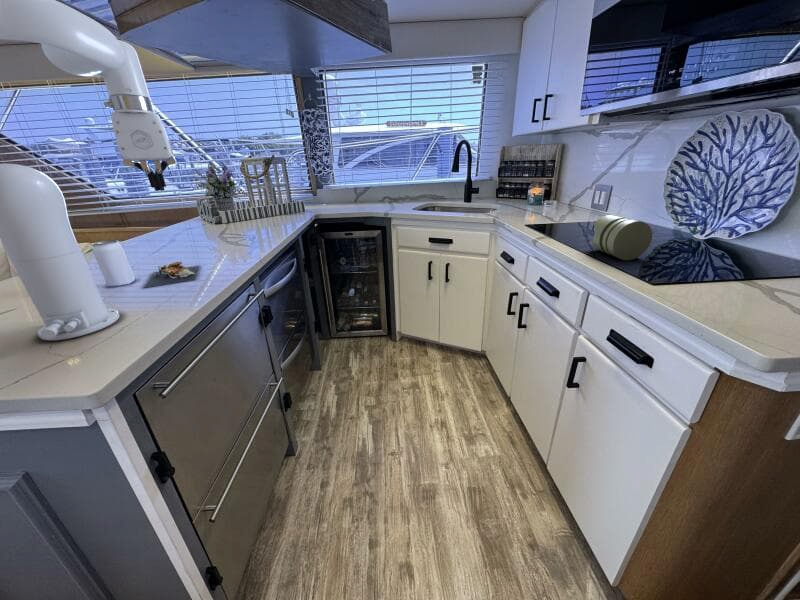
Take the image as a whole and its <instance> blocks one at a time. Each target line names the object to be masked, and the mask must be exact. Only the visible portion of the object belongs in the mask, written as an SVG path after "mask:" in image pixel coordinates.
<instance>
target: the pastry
mask: <svg viewBox="0 0 800 600" xmlns="http://www.w3.org/2000/svg"><path fill="white" fill-rule="evenodd" d="M182 264H183V261H176V262H175V261H174V262H172V263H169V262H168V263H166V264H164V265H163V266H160V265H158V266H157V268H158V272H160V273H162V274H168V275H169V276H170V278H176V277H177V278H179V277H180V278H181V277H186V276H188V275H190V274H194V273H193V272H191V271H189V270H188V267H186V266H184V265H182ZM154 276H155V277H156V276H157V277H159V276H160V274H155V275H154Z"/></svg>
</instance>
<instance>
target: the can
mask: <svg viewBox="0 0 800 600" xmlns="http://www.w3.org/2000/svg"><path fill="white" fill-rule="evenodd" d="M91 246H92V249H91V251H92V254H93V256H94V258H95V261H96V263H97V265H98V268H99V270H100V273H101V275H102V277H103V280H104V282H105V284H106V286H107V287H110V288H115V287H122V286H123V287H124V286H127V285H131V284H132V283H134V282H135V280H136V277H135V276H134V273H133V270H132V268H131V267H132V266H131V265H130V262H129V261H128V257H127V255H126V252H125V249H124V248H123V245H121V243H120V242H119V240H118V239H117V240H116V239H112V240H104V241H98V242H94V243H91Z"/></svg>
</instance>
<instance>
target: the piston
mask: <svg viewBox="0 0 800 600" xmlns="http://www.w3.org/2000/svg"><path fill="white" fill-rule="evenodd" d="M592 226H594V233H593V238H592V241H590V242H588V243H589V245H590V246H591V248H593V249H595V250H597V251H599V252H602V253H605V254H607V255H610V256H612V257H615V258H617V259H619V260H623V261H632V260H636V259H637V258H639V257H640V256H642V255H643V254H644V253H645V252H646V251H647V250H648V249H649V247H650V245H651V243H652V240H653V230H652V228H651V226H650V224H648V223H646V222H645V221H641V220H636V219H631V218H627V217H623V216H618V215H613V214H607V215H604V216H601V217H599V218H597V220H595V221H594V223H593V224H592Z"/></svg>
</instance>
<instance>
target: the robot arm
mask: <svg viewBox="0 0 800 600" xmlns="http://www.w3.org/2000/svg"><path fill="white" fill-rule="evenodd" d="M0 40H2V41H3V40H4V41H21V42H31V43H36V44H40V45H41V46H40V47H41V49H42V52H43V53H44V55H45V57H46V58H47V59H48V60H49V61H50V62H51V63H52V64H53V65H54V66H55V67H57V68H58V69H60V70H62V71H64V72H66V73H68V74H71V75H74V76H81V77H95V78H96V77H97V78H102V79H103V81H104V84H105V87H106V91H107V93H108V97H109V99H106V100H102V103H103V105H104V107H105V108H106V109H108V108H109V109H112V110H113V111H114V112H110V119H111V125H112V129H113V133H114V137H115V140H116V144H117V148H118V151H119V154H120V155H121V157H122V158H123V165H124V166H126V167H133V168H137V169H139V170H140V171H142V172H144V174H146V176H147V179H148V181H149V184H150V185H149V186H150V188H154V191H155V192H159V191H161V192H162V191H165V190H166V189H165V188H166V187H167V184H166V180H165V178H164V174H163V173H164V172H165V170H166V169H167V168H168V167H171V166H173V165H174V166H175V165H177V164H178V161H177V160H176V158H175V156H174V151H173V148H172V143H171V141H170V139H169V135H168V133H167V130H166V128H165V125H164V124H163V123H164V122H163V121H162V118H161V117H160V115H159V114H158V113H156V112H155V109H154V105H153V102H152V99H151V96H150V92H149V89H148V86H147V82H146V78H145V76H144V72H143V69H142V65H141V63H140V58H139V56H138V53H137V50H136V49H135V48H134V47H133V45H131V44H130V43H129V42H126V41H123V40H120V39H118V38H117V37H116V36H115V35H114V34H113V33H112V32H111V31H110V30H109V29H108V28H107V27H105V26H104V25H103V24H101V23H100V22H98V21H97V20H95V19H94V18H92V17H89V16H88V15H86V14H84V13H83V12H80V11H79V10H76V9H74V8H73V7H71V6H69V5H67V4H65V3H63V2H60V1H58V0H0ZM148 161H153V162H154V168H155V169H154V170H153V169H152V168H151V166H150V164H149V162H148ZM0 242H1V245H2V247H3V250H4V251H5V253H6V255H7V257H8V259H9V261H10V262H11V264H12V266H13V268H14V270H15V271H16V273H17V275H18V277H19V279H20V280H21V283H22V284H23V286H24V288H25V290H26V292H27V293H28V295H29V297H30V299H31V301H32V303H33V305H34V306H35V308H36V311H37V312H38V314H39V316H40V318H41V319H42V321H43V323H44V325H43V326H42V327H41V328H39V329H38V330H37V336H38V338H39V339H40V340H43V341H51V342H52V341H61V340H70V339H73V338H78V337H81V336H82V337H83V336H85V335H89V334H93V333H94V332H98V331H100V330H102V329H104V328H105V329H106V328H107V327H109V326H111V325H113V324H115V323H116V322H117V321H118V320H119V319H120V316H121V315H120V312H119V311H118V310H117V309H114V308H107V306H106V304H105V302H104V299H103V297H102V295H101V293H100V291H99V288H98V286H97V284H96V281H95V279H94V277H93V274H92V272H91V270H90V267H89V265H88V263H87V261H86V259H85V257H84V254H83V252H82V250H81V248H80V246H79V243H78V241H77V238H76V236H75V234H74V230H73V229H72V226H71V222H70V218H69V216H68V210H67V204H66V200H65V196H64V195H63V192H62V190H61V188H60V187H59V185H58V184H57V182H55V181H54V180H53V179H52V178H51V177H50V176H48V175H47V174H45V173H44V172H42V171H40V170H38V169H35V168H34V167H30V166H27V165H23V164H17V163H0Z"/></svg>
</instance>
